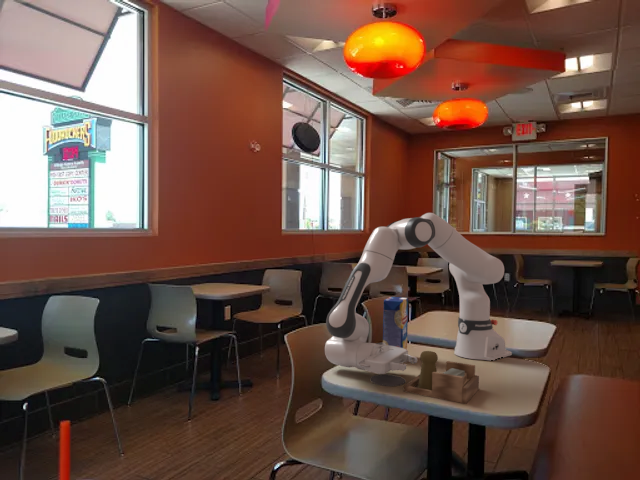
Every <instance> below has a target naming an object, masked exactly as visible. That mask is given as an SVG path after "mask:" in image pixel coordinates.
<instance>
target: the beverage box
mask: <svg viewBox="0 0 640 480" xmlns="http://www.w3.org/2000/svg"><path fill="white" fill-rule="evenodd" d="M382 315H383V319H382V321H383V323H382V329H383V330H382V331H383V332H382V343H385V344H386V345H390V346H395V347H400V348H404V349H406V350H408V326H409V324H408V323H409V321H408V318H409V298H408V297H402V296H398V297H397V296H388V297H387V298H385V299H384V300H383V314H382Z"/></svg>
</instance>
